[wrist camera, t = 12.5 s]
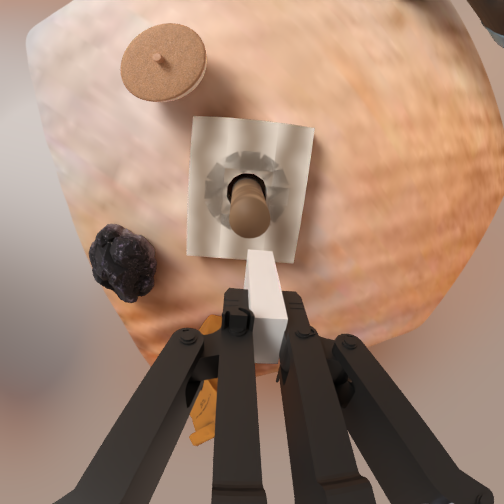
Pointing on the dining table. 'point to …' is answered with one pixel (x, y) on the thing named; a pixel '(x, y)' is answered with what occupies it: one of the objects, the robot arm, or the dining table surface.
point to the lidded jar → (164, 63)
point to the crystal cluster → (123, 262)
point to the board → (253, 162)
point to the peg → (248, 208)
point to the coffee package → (206, 396)
